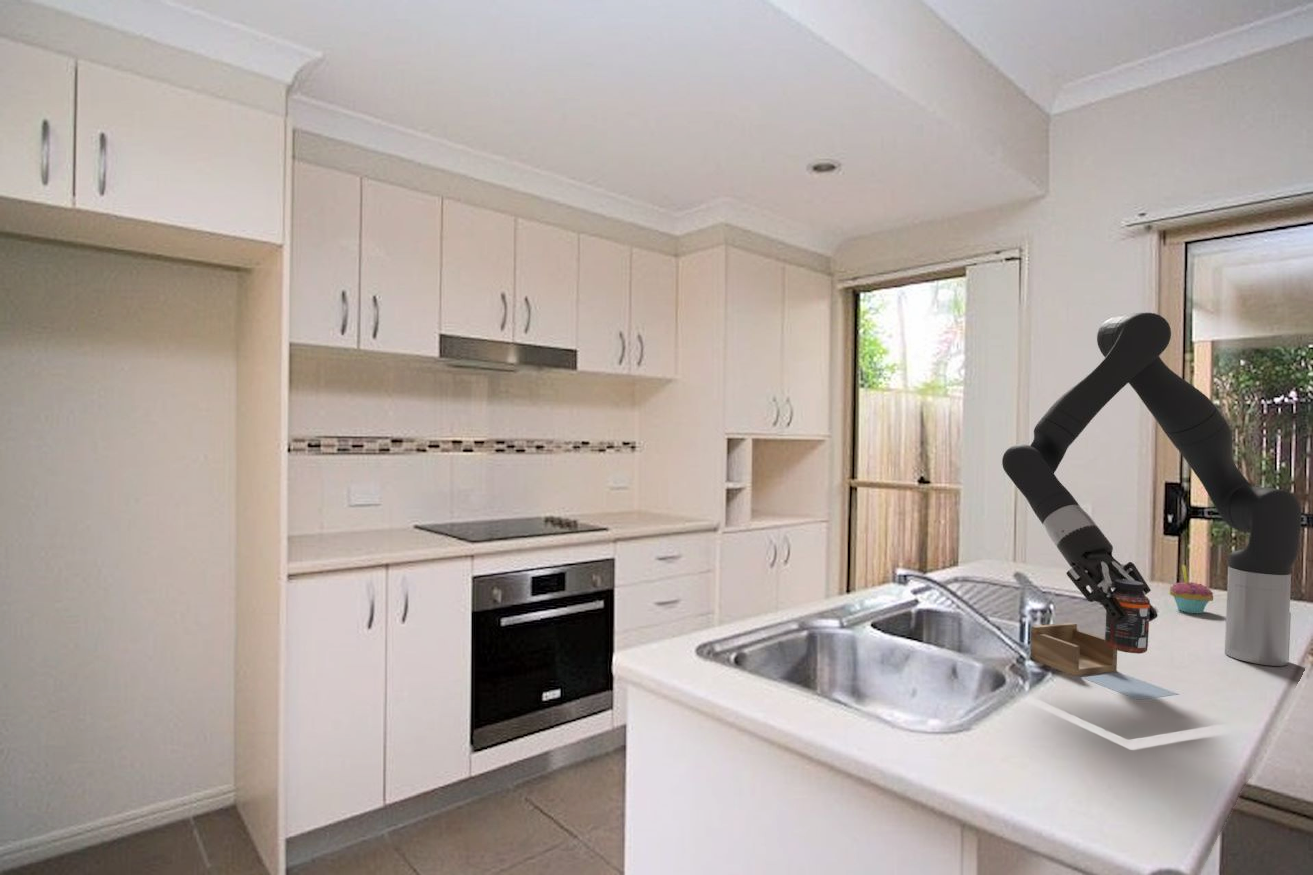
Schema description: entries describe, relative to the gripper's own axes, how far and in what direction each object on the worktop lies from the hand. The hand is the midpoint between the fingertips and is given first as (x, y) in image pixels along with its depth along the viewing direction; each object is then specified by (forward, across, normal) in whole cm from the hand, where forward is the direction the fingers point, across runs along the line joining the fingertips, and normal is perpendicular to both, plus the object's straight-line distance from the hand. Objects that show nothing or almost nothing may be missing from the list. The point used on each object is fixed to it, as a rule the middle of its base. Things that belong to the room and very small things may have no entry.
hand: (1138, 620), depth 113 cm
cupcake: (-17, +68, +34) cm, 78 cm away
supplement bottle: (+3, 0, +5) cm, 6 cm away
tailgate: (+3, 0, +12) cm, 13 cm away
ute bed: (+1, 0, +17) cm, 17 cm away
